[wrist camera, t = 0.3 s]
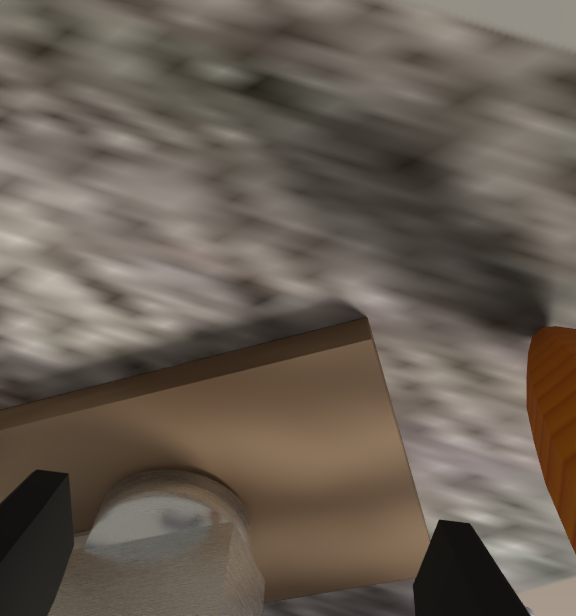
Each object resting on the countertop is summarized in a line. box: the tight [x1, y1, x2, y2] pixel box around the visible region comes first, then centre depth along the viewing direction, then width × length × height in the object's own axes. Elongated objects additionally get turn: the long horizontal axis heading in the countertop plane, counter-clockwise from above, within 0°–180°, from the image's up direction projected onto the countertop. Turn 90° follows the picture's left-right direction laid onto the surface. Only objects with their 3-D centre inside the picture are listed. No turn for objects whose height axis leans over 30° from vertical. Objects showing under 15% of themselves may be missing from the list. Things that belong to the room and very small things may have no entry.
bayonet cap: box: [48, 470, 265, 616], centre depth 20 cm, size 6×7×7 cm
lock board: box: [0, 318, 430, 603], centre depth 24 cm, size 13×20×2 cm, turn 108°
